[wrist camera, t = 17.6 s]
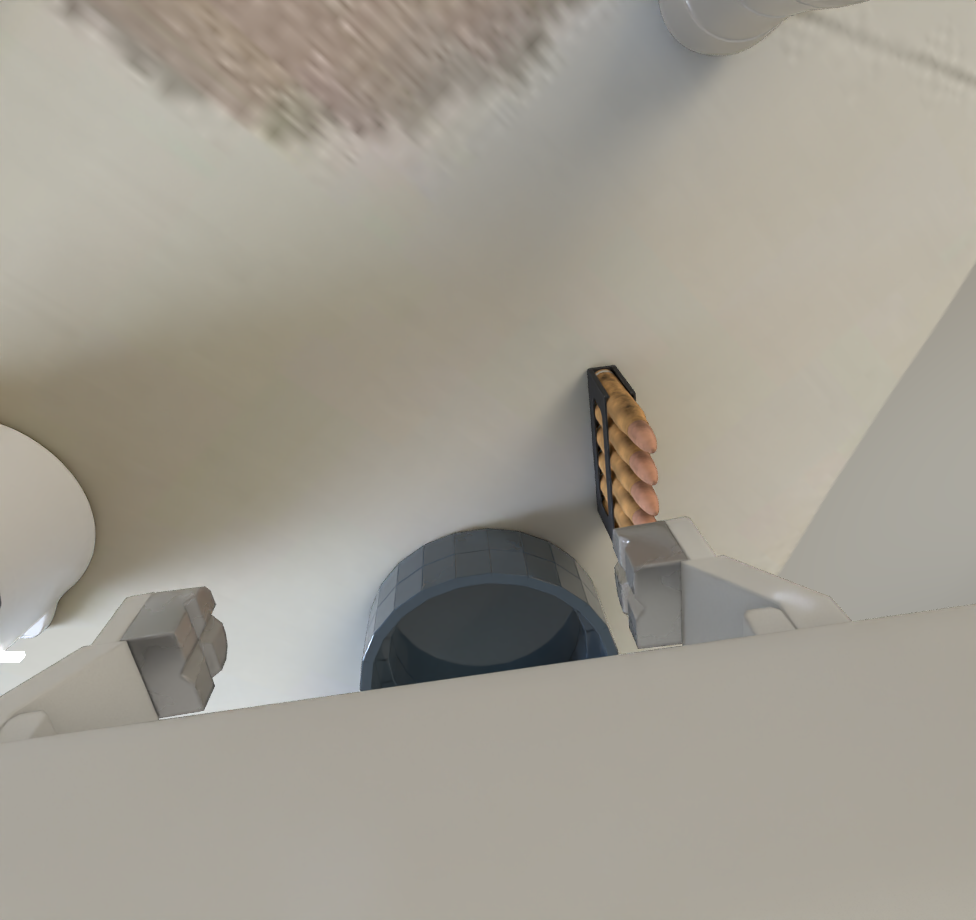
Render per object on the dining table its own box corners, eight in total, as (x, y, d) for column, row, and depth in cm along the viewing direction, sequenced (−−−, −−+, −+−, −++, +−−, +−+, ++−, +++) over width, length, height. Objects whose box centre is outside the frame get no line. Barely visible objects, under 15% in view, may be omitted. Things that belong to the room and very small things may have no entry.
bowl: (392, 732, 56) (387, 794, 50) (347, 546, 49) (335, 594, 43) (607, 701, 56) (625, 760, 50) (593, 511, 49) (612, 555, 43)
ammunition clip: (623, 509, 49) (676, 610, 38) (597, 513, 49) (642, 615, 38) (615, 364, 45) (671, 430, 34) (587, 368, 45) (634, 436, 34)
